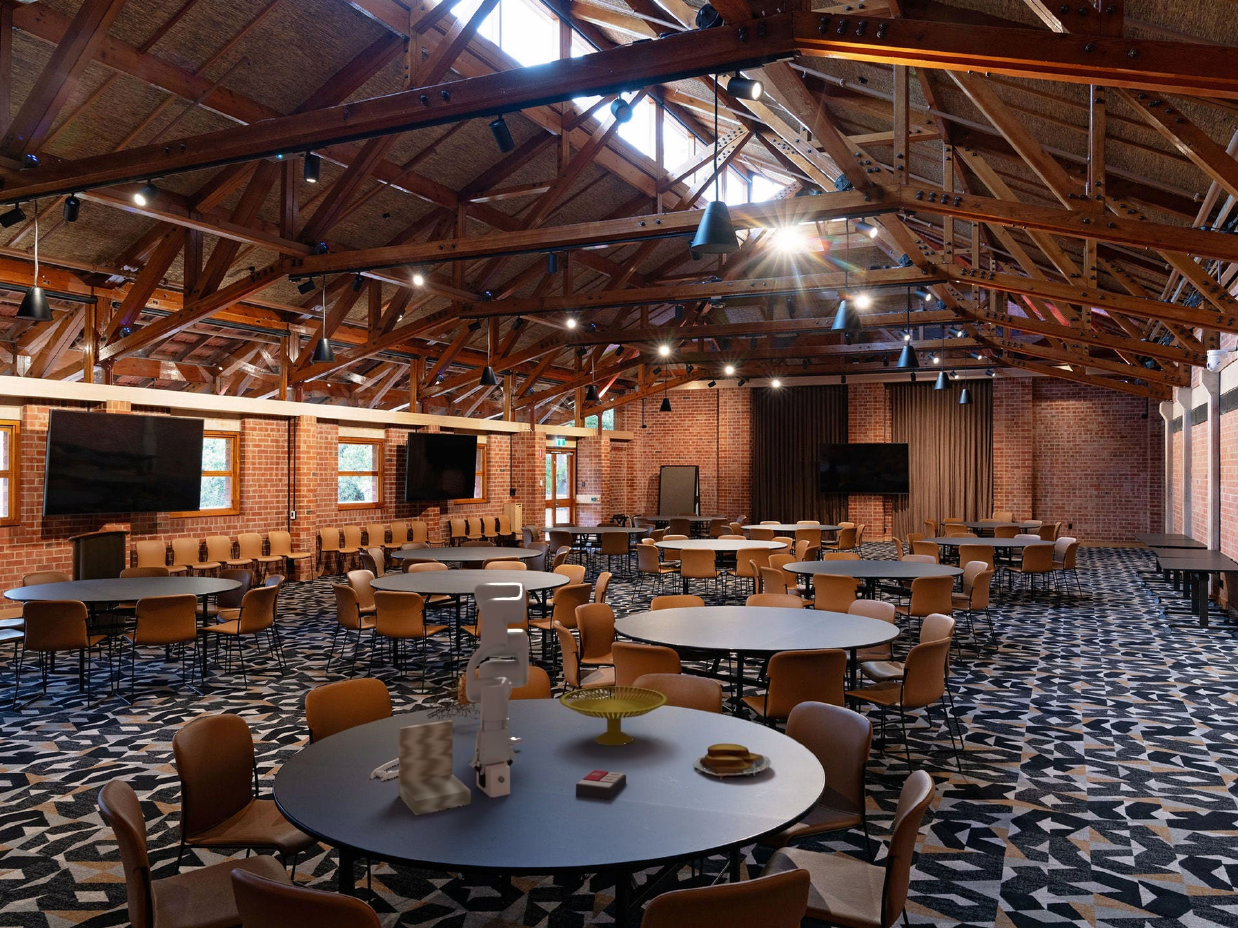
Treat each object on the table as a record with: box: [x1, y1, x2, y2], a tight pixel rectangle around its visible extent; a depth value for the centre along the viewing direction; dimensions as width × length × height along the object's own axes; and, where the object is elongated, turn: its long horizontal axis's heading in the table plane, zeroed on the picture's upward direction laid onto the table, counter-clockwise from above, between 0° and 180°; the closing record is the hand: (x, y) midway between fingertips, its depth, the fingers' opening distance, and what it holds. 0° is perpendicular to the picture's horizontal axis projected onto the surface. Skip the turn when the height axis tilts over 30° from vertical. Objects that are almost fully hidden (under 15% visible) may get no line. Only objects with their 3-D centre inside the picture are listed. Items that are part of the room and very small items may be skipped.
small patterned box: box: [575, 769, 627, 801], centre depth 244 cm, size 11×4×15 cm
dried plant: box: [424, 657, 532, 722], centre depth 317 cm, size 30×31×45 cm
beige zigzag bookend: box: [398, 719, 472, 816], centre depth 237 cm, size 16×18×20 cm
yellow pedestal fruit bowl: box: [558, 685, 669, 746], centre depth 295 cm, size 40×40×15 cm
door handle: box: [370, 757, 399, 782], centre depth 265 cm, size 3×10×25 cm
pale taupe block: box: [476, 761, 511, 798], centre depth 244 cm, size 6×13×8 cm, turn 30°
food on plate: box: [692, 743, 772, 781], centre depth 263 cm, size 25×25×7 cm
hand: (493, 783), depth 245 cm, fingers closed on pale taupe block, 6 cm apart
